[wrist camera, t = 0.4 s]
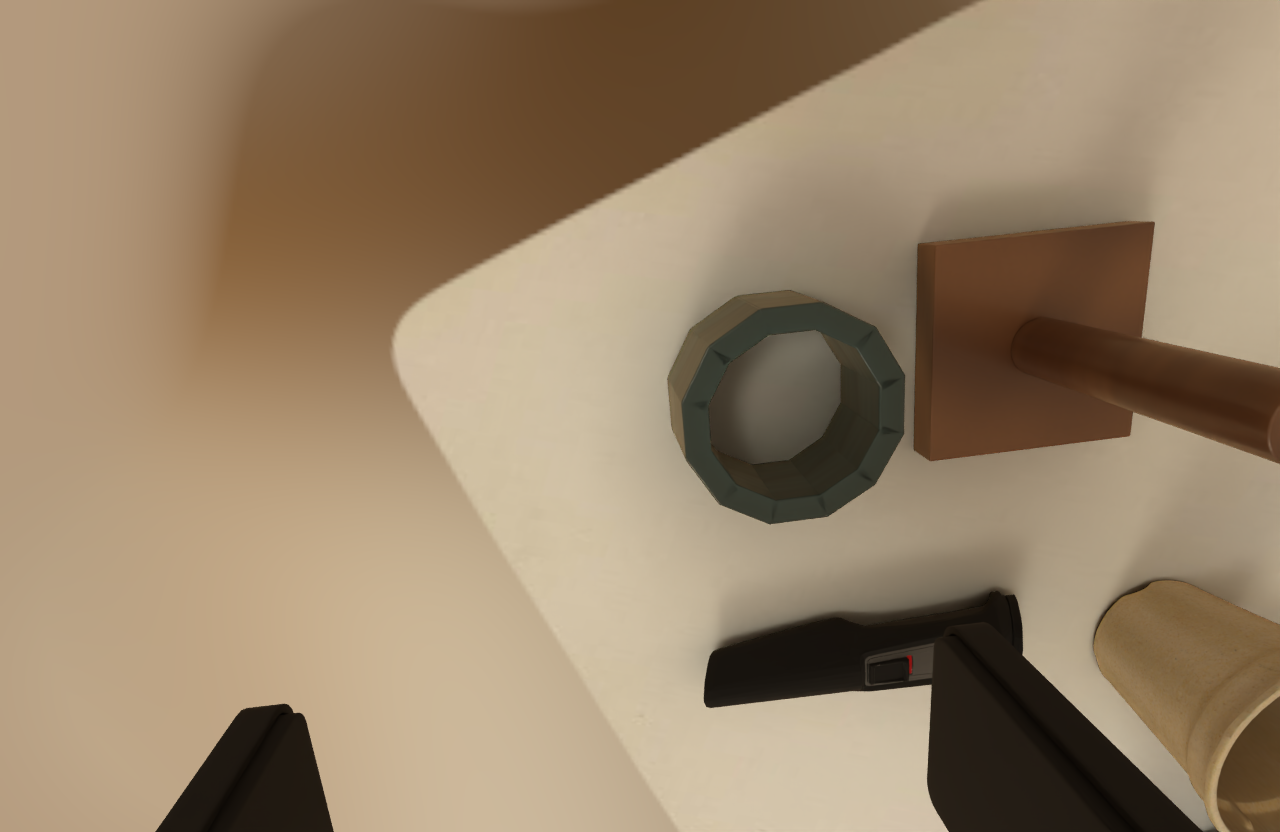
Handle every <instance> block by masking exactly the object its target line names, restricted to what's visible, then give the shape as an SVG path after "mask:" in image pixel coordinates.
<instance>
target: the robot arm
mask: <svg viewBox="0 0 1280 832" xmlns="http://www.w3.org/2000/svg"><path fill="white" fill-rule="evenodd" d="M927 785H928V791H929V795H930V798H931V801H932V803H933V806H934V808H935V810H936V811H937V813H938V815H939V816H940V818H941V820H942V821H943V823H944V825H945V826H946V828H947V830H948V831H949V832H1202V831H1201V830H1200V829H1199V828H1198V827H1197V826H1196V825H1195V824H1194V823H1193V822H1192V821H1191V820H1190V819H1189V818H1188V817H1187V816H1186V815H1185V814H1184V813H1183V812H1182V811H1181V810H1180V809H1179V808H1178V807H1177V806H1176V805H1175V804H1174V803H1173V802H1172V801H1171V800H1170V799H1169V798H1168V797H1167V796H1166V795H1165V794H1164V793H1162V792H1161V791H1160V790H1159V789H1158V788H1157V787H1156V786H1155V785H1154V784H1153V783H1152V782H1151V781H1150V780H1149V779H1148V778H1147V777H1146V776H1145V775H1144V774H1143V773H1142V772H1141V771H1140V770H1139V769H1138V768H1137V767H1136V766H1135V765H1134V764H1133V763H1132V762H1131V761H1130V760H1129V759H1128V758H1127V757H1126V756H1125V755H1124V754H1123V753H1122V752H1121V751H1120V750H1119V749H1118V748H1117V747H1115V746H1114V745H1113V744H1112V743H1111V742H1110V741H1109V740H1108V739H1107V738H1106V737H1105V736H1104V735H1103V734H1102V733H1101V732H1100V731H1099V730H1098V729H1097V728H1096V727H1095V726H1094V725H1093V724H1092V723H1091V722H1090V721H1089V720H1088V719H1087V718H1086V717H1085V716H1084V715H1083V714H1082V713H1081V712H1080V711H1079V710H1078V709H1077V708H1076V707H1075V706H1074V705H1073V704H1072V703H1071V702H1070V701H1068V700H1067V699H1066V698H1065V697H1064V696H1063V695H1062V694H1061V693H1060V692H1059V691H1058V690H1057V689H1056V688H1055V687H1054V686H1053V685H1052V684H1051V683H1050V682H1049V681H1048V680H1047V679H1046V678H1045V677H1044V676H1043V675H1042V674H1041V673H1040V672H1039V671H1038V670H1037V669H1036V668H1035V667H1034V666H1033V665H1032V664H1031V663H1030V662H1029V661H1028V660H1027V659H1026V658H1025V657H1024V656H1022V655H1021V654H1020V653H1019V652H1018V651H1017V650H1016V649H1015V648H1014V647H1013V646H1012V645H1011V644H1010V643H1009V642H1008V641H1007V640H1006V639H1005V638H1004V637H1003V636H1002V635H1001V634H1000V633H999V632H998V631H997V630H996V629H995V628H994V627H993V626H991V625H990V624H989V623H985V622H981V623H972V624H964V625H955V626H949V627H947V628H946V629H945V631H944V635H943V637H939V638H937V639H936V640H935V642H934V652H933V672H932V692H931V712H930V732H929V752H928V772H927ZM156 832H334V831H333V827H332V823H331V819H330V815H329V811H328V808H327V803H326V799H325V795H324V791H323V787H322V783H321V779H320V775H319V771H318V767H317V763H316V759H315V755H314V751H313V748H312V743H311V739H310V735H309V731H308V727H307V723H306V720H305V717H304V716H303V715H302V714H301V713H293V710H292V708H291V707H290V706H289V705H287V704H279V705H270V706H261V707H253V708H246V709H243V710H241V711H240V713H239V714H238V715H237V716H236V717H235V719H234V720H233V722H232V723H231V724H230V726H229V727H228V729H227V730H226V732H225V733H224V734H223V736H222V737H221V739H220V740H219V742H218V743H217V744H216V746H215V747H214V749H213V750H212V752H211V753H210V755H209V756H208V757H207V759H206V761H205V762H204V763H203V765H202V766H201V767H200V769H199V770H198V772H197V773H196V775H195V776H194V778H193V779H192V780H191V782H190V783H189V785H188V786H187V788H186V789H185V790H184V792H183V793H182V795H181V796H180V798H179V799H178V800H177V802H176V803H175V805H174V806H173V808H172V809H171V810H170V812H169V813H168V815H167V816H166V818H165V819H164V820H163V822H162V823H161V825H160V826H159V828H158V829H157V831H156Z"/></svg>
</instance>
